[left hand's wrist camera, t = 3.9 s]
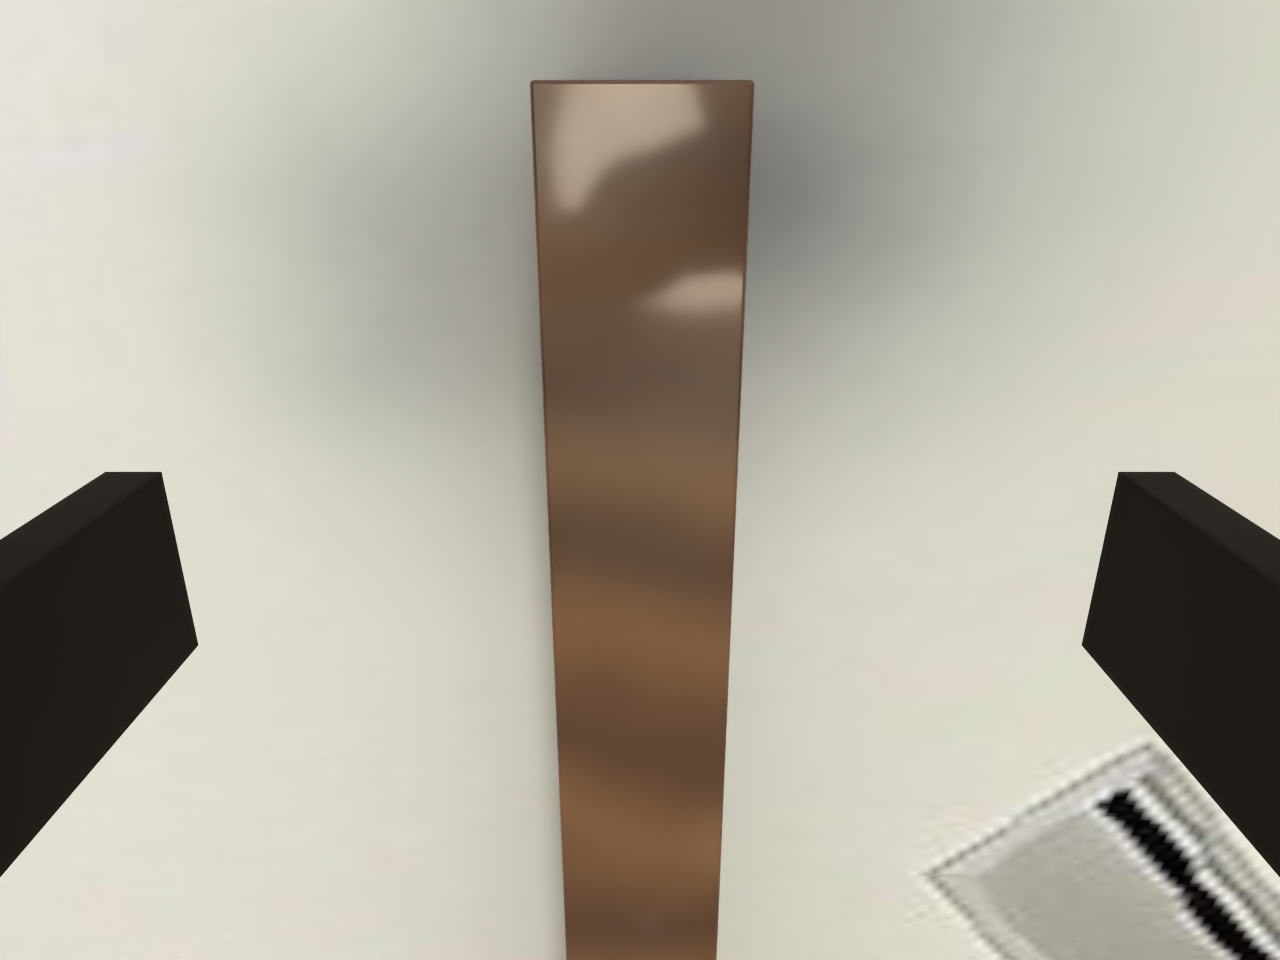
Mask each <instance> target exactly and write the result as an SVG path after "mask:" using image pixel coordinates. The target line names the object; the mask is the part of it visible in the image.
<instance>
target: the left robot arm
mask: <svg viewBox="0 0 1280 960" xmlns="http://www.w3.org/2000/svg"><path fill="white" fill-rule="evenodd" d="M197 646H198V642H197V637H196V632H195V628H194V623H193V618H192V614H191V609H190V604H189V600H188V595H187V590H186V585H185V581H184V576H183V571H182V567H181V562H180V557H179V553H178V548H177V543H176V538H175V534H174V529H173V524H172V520H171V515H170V510H169V506H168V501H167V496H166V491H165V487H164V482H163V477H162V473H161V472H105V473H103V474H102V475H100V476H99V477H97V478H95V479H94V480H92V481H91V482H89V483H88V484H86V485H85V486H83V487H81V488H80V489H78V490H77V491H75V492H74V493H72V494H71V495H69V496H68V497H66V498H64V499H63V500H61V501H60V502H58V503H57V504H55V505H54V506H52V507H50V508H49V509H47V510H46V511H44V512H43V513H41V514H40V515H38V516H36V517H35V518H33V519H32V520H30V521H29V522H27V523H26V524H24V525H23V526H21V527H19V528H18V529H16V530H15V531H13V532H12V533H10V534H9V535H7V536H5V537H4V538H2V539H1V540H0V877H1V876H2V874H3V873H4V872H5V871H6V870H7V869H8V867H9V866H10V865H11V864H12V863H13V862H14V860H15V859H16V858H17V857H18V856H19V855H20V853H21V852H22V851H23V850H24V849H25V848H26V846H27V845H28V844H29V843H30V842H31V840H32V839H33V838H34V837H35V836H36V835H37V833H38V832H39V831H40V830H41V829H42V828H43V826H44V825H45V824H46V823H47V822H48V821H49V819H50V818H51V817H52V816H53V815H54V814H55V812H56V811H57V810H58V809H59V808H60V807H61V805H62V804H63V803H64V802H65V801H66V799H67V798H68V797H69V796H70V795H71V794H72V792H73V791H74V790H75V789H76V788H77V787H78V785H79V784H80V783H81V782H82V781H83V780H84V778H85V777H86V776H87V775H88V774H89V773H90V771H91V770H92V769H93V768H94V767H95V765H96V764H97V763H98V762H99V761H100V760H101V758H102V757H103V756H104V755H105V754H106V753H107V751H108V750H109V749H110V748H111V747H112V746H113V744H114V743H115V742H116V741H117V740H118V739H119V737H120V736H121V735H122V734H123V733H124V732H125V730H126V729H127V728H128V727H129V726H130V724H131V723H132V722H133V721H134V720H135V719H136V717H137V716H138V715H139V714H140V713H141V712H142V710H143V709H144V708H145V707H146V706H147V705H148V703H149V702H150V701H151V700H152V699H153V698H154V696H155V695H156V694H157V693H158V692H159V691H160V689H161V688H162V687H163V686H164V685H165V683H166V682H167V681H168V680H169V679H170V678H171V676H172V675H173V674H174V673H175V672H176V671H177V669H178V668H179V667H180V666H181V665H182V664H183V662H184V661H185V660H186V659H187V658H188V657H189V655H190V654H191V653H192V652H193V651H194V650H195V648H196V647H197ZM1082 646H1083V647H1084V648H1085V650H1086V651H1087V652H1088V653H1089V654H1090V655H1091V657H1092V658H1093V659H1094V660H1095V661H1096V662H1097V664H1098V665H1099V666H1100V667H1101V668H1102V669H1103V671H1104V672H1105V673H1106V674H1107V675H1108V676H1109V678H1110V679H1111V680H1112V681H1113V682H1114V683H1115V685H1116V686H1117V687H1118V688H1119V689H1120V691H1121V692H1122V693H1123V694H1124V695H1125V696H1126V698H1127V699H1128V700H1129V701H1130V702H1131V703H1132V705H1133V706H1134V707H1135V708H1136V709H1137V710H1138V712H1139V713H1140V714H1141V715H1142V716H1143V717H1144V719H1145V720H1146V721H1147V722H1148V723H1149V724H1150V726H1151V727H1152V728H1153V729H1154V730H1155V732H1156V733H1157V734H1158V735H1159V736H1160V737H1161V739H1162V740H1163V741H1164V742H1165V743H1166V744H1167V746H1168V747H1169V748H1170V749H1171V750H1172V751H1173V753H1174V754H1175V755H1176V756H1177V757H1178V758H1179V760H1180V761H1181V762H1182V763H1183V764H1184V765H1185V767H1186V768H1187V769H1188V770H1189V771H1190V773H1191V774H1192V775H1193V776H1194V777H1195V778H1196V780H1197V781H1198V782H1199V783H1200V784H1201V785H1202V787H1203V788H1204V789H1205V790H1206V791H1207V792H1208V794H1209V795H1210V796H1211V797H1212V798H1213V799H1214V801H1215V802H1216V803H1217V804H1218V805H1219V807H1220V808H1221V809H1222V810H1223V811H1224V812H1225V814H1226V815H1227V816H1228V817H1229V818H1230V819H1231V821H1232V822H1233V823H1234V824H1235V825H1236V826H1237V828H1238V829H1239V830H1240V831H1241V832H1242V833H1243V835H1244V836H1245V837H1246V838H1247V839H1248V840H1249V842H1250V843H1251V844H1252V845H1253V846H1254V848H1255V849H1256V850H1257V851H1258V852H1259V853H1260V855H1261V856H1262V857H1263V858H1264V859H1265V860H1266V862H1267V863H1268V864H1269V865H1270V866H1271V867H1272V869H1273V870H1274V871H1275V872H1276V873H1277V874H1278V876H1279V877H1280V540H1279V539H1278V538H1276V537H1275V536H1273V535H1271V534H1270V533H1268V532H1267V531H1265V530H1264V529H1262V528H1261V527H1259V526H1257V525H1256V524H1254V523H1253V522H1251V521H1250V520H1248V519H1247V518H1245V517H1244V516H1242V515H1240V514H1239V513H1237V512H1236V511H1234V510H1233V509H1231V508H1230V507H1228V506H1226V505H1225V504H1223V503H1222V502H1220V501H1219V500H1217V499H1216V498H1214V497H1212V496H1211V495H1209V494H1208V493H1206V492H1205V491H1203V490H1202V489H1200V488H1199V487H1197V486H1195V485H1194V484H1192V483H1191V482H1189V481H1188V480H1186V479H1185V478H1183V477H1181V476H1180V475H1178V474H1177V473H1175V472H1119V473H1118V477H1117V482H1116V487H1115V491H1114V496H1113V501H1112V506H1111V510H1110V515H1109V520H1108V524H1107V529H1106V534H1105V538H1104V543H1103V548H1102V553H1101V557H1100V562H1099V567H1098V571H1097V576H1096V581H1095V585H1094V590H1093V595H1092V600H1091V604H1090V609H1089V614H1088V618H1087V623H1086V628H1085V632H1084V637H1083V642H1082Z"/></svg>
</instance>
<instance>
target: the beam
mask: <svg viewBox="0 0 1280 960" xmlns="http://www.w3.org/2000/svg"><path fill="white" fill-rule="evenodd" d="M530 96H531V120H532V144H533V168H534V192H535V216H536V240H537V264H538V288H539V312H540V336H541V360H542V384H543V408H544V432H545V456H546V480H547V504H548V528H549V552H550V576H551V600H552V624H553V648H554V672H555V696H556V720H557V744H558V768H559V792H560V816H561V840H562V864H563V888H564V912H565V936H566V960H716V957H717V934H718V911H719V888H720V865H721V842H722V819H723V796H724V772H725V749H726V726H727V703H728V680H729V657H730V634H731V611H732V588H733V565H734V542H735V519H736V496H737V473H738V450H739V426H740V403H741V380H742V357H743V334H744V311H745V288H746V265H747V242H748V219H749V196H750V173H751V150H752V127H753V103H754V82H753V81H752V80H533V81H531V83H530Z"/></svg>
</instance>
